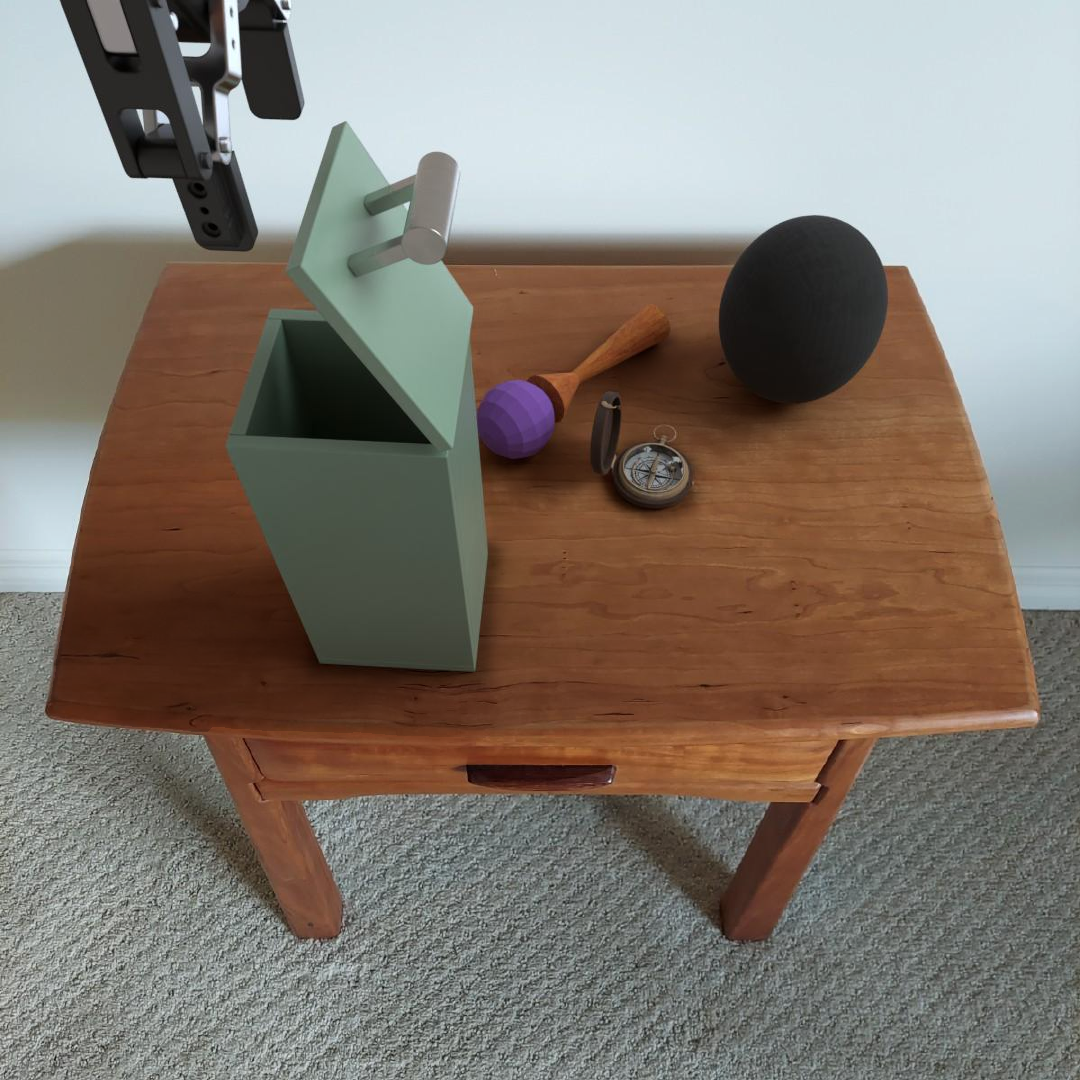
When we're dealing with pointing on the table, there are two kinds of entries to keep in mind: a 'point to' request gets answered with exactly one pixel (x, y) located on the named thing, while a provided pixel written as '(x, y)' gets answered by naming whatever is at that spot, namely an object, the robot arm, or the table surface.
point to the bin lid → (389, 276)
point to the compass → (638, 461)
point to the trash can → (361, 503)
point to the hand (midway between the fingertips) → (256, 176)
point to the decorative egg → (803, 309)
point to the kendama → (558, 389)
